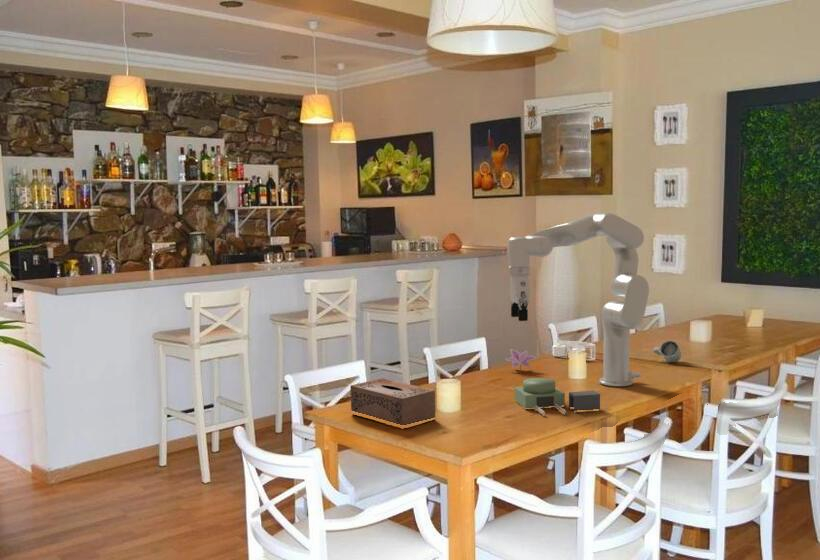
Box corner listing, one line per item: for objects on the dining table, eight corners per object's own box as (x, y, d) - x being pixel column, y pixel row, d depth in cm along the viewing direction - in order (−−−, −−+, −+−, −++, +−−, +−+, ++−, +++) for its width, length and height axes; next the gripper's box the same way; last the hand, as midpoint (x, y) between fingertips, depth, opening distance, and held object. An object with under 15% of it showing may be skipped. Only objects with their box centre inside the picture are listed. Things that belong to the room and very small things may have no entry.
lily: (542, 372, 313) (538, 349, 317) (525, 368, 305) (522, 345, 308) (518, 378, 321) (515, 356, 324) (501, 374, 313) (499, 352, 316)
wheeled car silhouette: (547, 357, 342) (547, 341, 341) (563, 354, 349) (563, 338, 348) (582, 364, 326) (582, 347, 326) (598, 360, 333) (598, 344, 333)
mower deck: (552, 398, 271) (552, 376, 270) (574, 414, 250) (574, 390, 249) (514, 401, 268) (514, 378, 268) (533, 417, 248) (533, 393, 247)
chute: (568, 409, 257) (568, 392, 256) (594, 407, 258) (594, 390, 257) (574, 413, 252) (574, 395, 251) (600, 411, 253) (600, 394, 252)
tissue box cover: (351, 414, 257) (350, 385, 256) (383, 406, 267) (382, 378, 266) (403, 429, 238) (402, 398, 237) (435, 420, 248) (434, 390, 247)
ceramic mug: (676, 366, 325) (686, 352, 326) (671, 359, 319) (681, 345, 319) (654, 355, 332) (664, 340, 332) (650, 348, 326) (660, 333, 326)
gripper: (536, 273, 264) (536, 322, 266) (522, 269, 281) (522, 314, 283) (515, 274, 263) (515, 322, 265) (502, 269, 280) (503, 315, 282)
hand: (519, 318), depth 274 cm, fingers open, 9 cm apart
